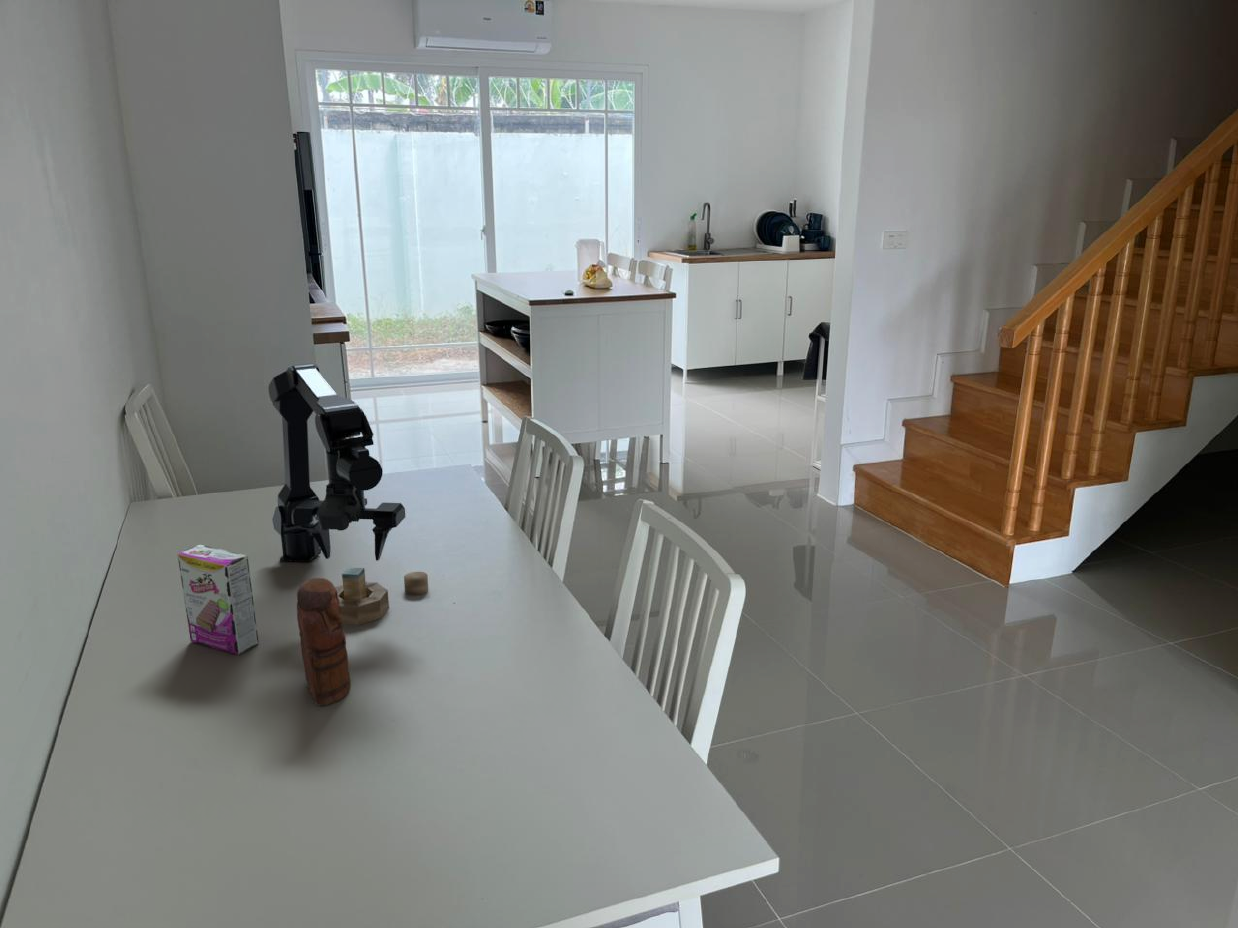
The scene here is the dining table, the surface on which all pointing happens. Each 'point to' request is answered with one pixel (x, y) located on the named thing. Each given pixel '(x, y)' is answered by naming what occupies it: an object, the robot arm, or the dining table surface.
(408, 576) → the loose bead
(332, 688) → the wooden figurine
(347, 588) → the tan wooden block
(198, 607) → the candy bar box
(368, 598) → the wooden octagonal ring
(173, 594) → the dining table surface
